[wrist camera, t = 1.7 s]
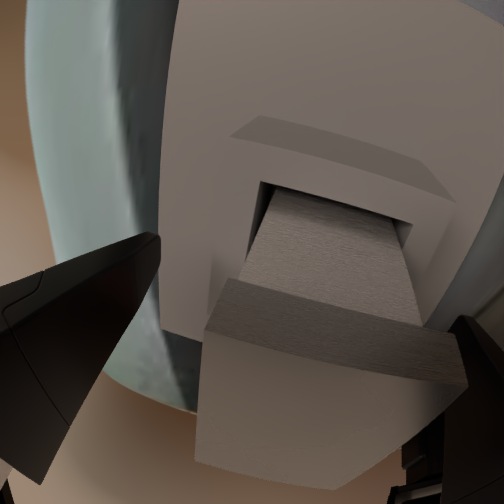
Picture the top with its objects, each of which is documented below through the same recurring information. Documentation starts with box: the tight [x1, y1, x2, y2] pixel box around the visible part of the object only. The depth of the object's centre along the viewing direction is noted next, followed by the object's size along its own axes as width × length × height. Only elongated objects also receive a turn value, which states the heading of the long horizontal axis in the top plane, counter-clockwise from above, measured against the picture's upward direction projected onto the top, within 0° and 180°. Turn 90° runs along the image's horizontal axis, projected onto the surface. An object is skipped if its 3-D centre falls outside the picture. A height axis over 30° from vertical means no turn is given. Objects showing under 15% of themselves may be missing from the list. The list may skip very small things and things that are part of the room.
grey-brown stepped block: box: [195, 185, 469, 490], centre depth 9 cm, size 4×5×9 cm
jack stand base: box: [158, 0, 504, 342], centre depth 12 cm, size 14×20×6 cm
